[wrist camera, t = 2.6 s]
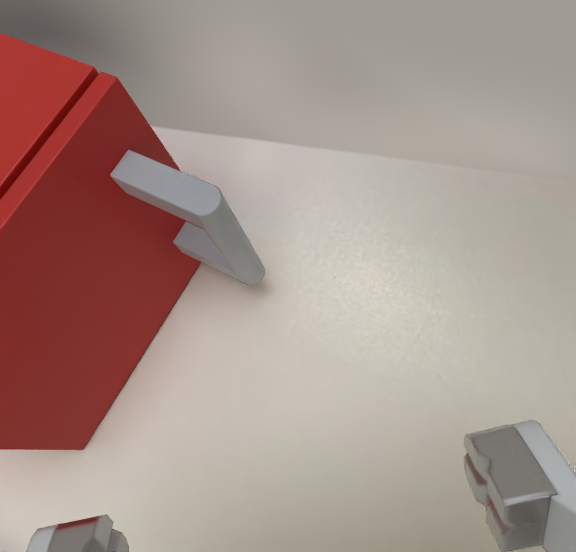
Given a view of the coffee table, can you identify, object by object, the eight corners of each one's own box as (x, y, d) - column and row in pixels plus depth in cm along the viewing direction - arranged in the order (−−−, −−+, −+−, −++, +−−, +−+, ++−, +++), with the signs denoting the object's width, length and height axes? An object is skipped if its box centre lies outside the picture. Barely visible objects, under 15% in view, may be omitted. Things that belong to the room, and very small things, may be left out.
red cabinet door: (290, 261, 31) (229, 116, 18) (153, 501, 27) (-62, 550, 14) (210, 225, 33) (100, 70, 20) (71, 442, 29) (-185, 434, 16)
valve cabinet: (208, 224, 34) (94, 65, 20) (70, 440, 30) (-194, 430, 16) (98, 174, 37) (-65, 9, 23) (-39, 361, 33) (-335, 296, 19)
